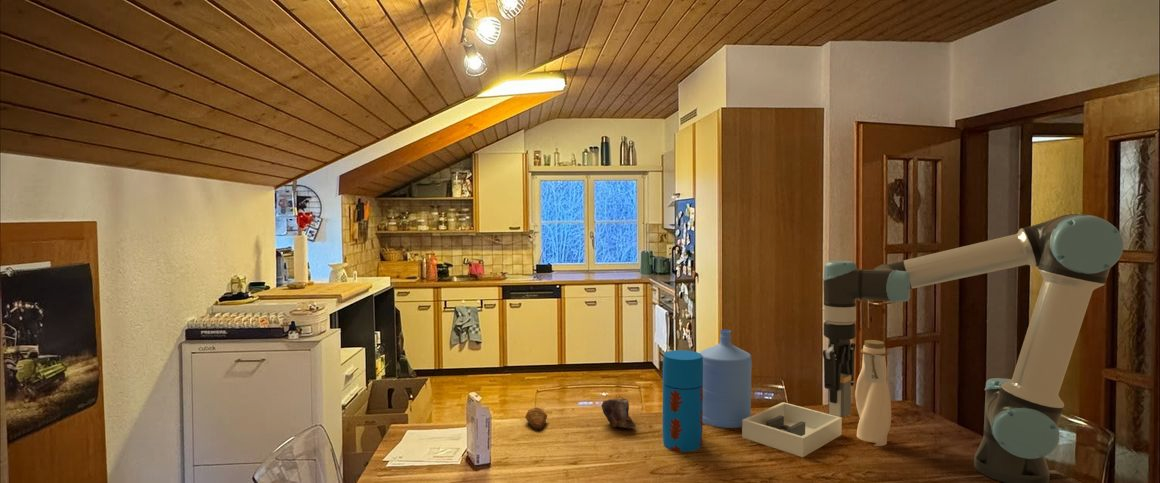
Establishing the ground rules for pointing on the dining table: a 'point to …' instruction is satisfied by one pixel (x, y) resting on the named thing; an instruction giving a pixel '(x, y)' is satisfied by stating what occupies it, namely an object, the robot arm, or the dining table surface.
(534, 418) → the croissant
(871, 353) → the water bottle
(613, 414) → the rock
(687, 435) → the thermos
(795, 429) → the inlet
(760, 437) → the box
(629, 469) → the dining table surface
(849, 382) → the grey tall block
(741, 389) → the water jug
